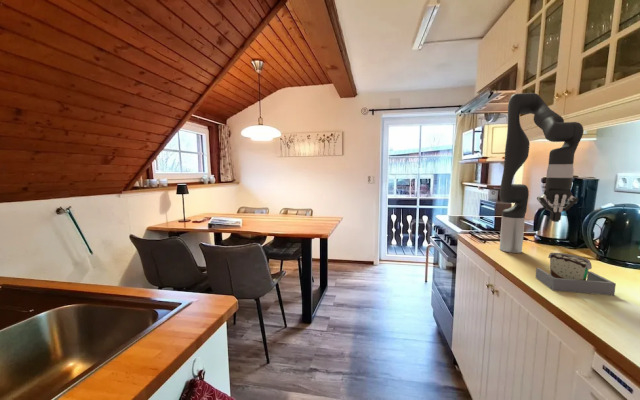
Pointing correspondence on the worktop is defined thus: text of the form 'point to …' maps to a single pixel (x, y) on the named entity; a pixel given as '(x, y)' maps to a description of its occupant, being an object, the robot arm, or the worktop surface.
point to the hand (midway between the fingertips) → (554, 221)
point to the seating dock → (578, 283)
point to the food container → (569, 266)
